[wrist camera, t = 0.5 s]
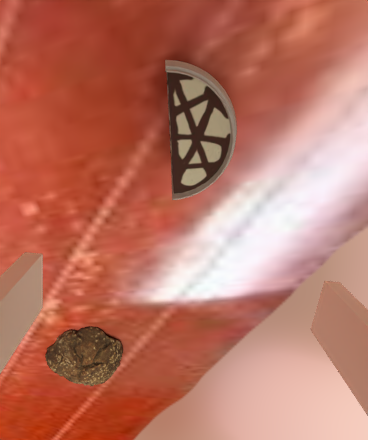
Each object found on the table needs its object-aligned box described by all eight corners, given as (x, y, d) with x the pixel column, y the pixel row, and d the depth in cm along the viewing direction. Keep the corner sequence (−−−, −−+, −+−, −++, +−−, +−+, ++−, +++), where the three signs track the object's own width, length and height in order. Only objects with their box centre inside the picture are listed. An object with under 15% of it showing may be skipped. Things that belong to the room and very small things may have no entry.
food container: (222, 162, 40) (236, 202, 32) (171, 164, 40) (172, 205, 32) (226, 48, 34) (245, 60, 25) (165, 50, 34) (165, 63, 25)
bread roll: (102, 378, 63) (97, 405, 59) (39, 357, 59) (30, 383, 54) (138, 341, 58) (135, 367, 53) (72, 314, 53) (64, 340, 49)
